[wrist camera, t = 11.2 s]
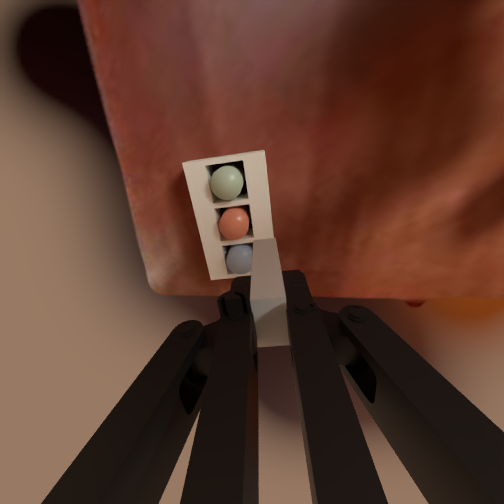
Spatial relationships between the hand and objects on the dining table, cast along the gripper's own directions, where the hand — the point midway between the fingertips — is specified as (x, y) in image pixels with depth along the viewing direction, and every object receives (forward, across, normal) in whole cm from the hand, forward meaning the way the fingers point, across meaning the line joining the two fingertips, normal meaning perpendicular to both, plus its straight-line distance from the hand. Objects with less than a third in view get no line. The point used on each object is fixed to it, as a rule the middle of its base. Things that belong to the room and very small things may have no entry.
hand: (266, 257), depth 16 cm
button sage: (+26, -5, +2) cm, 27 cm away
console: (+26, -5, -4) cm, 27 cm away
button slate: (+26, -5, -10) cm, 29 cm away
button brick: (+26, -5, -4) cm, 27 cm away
